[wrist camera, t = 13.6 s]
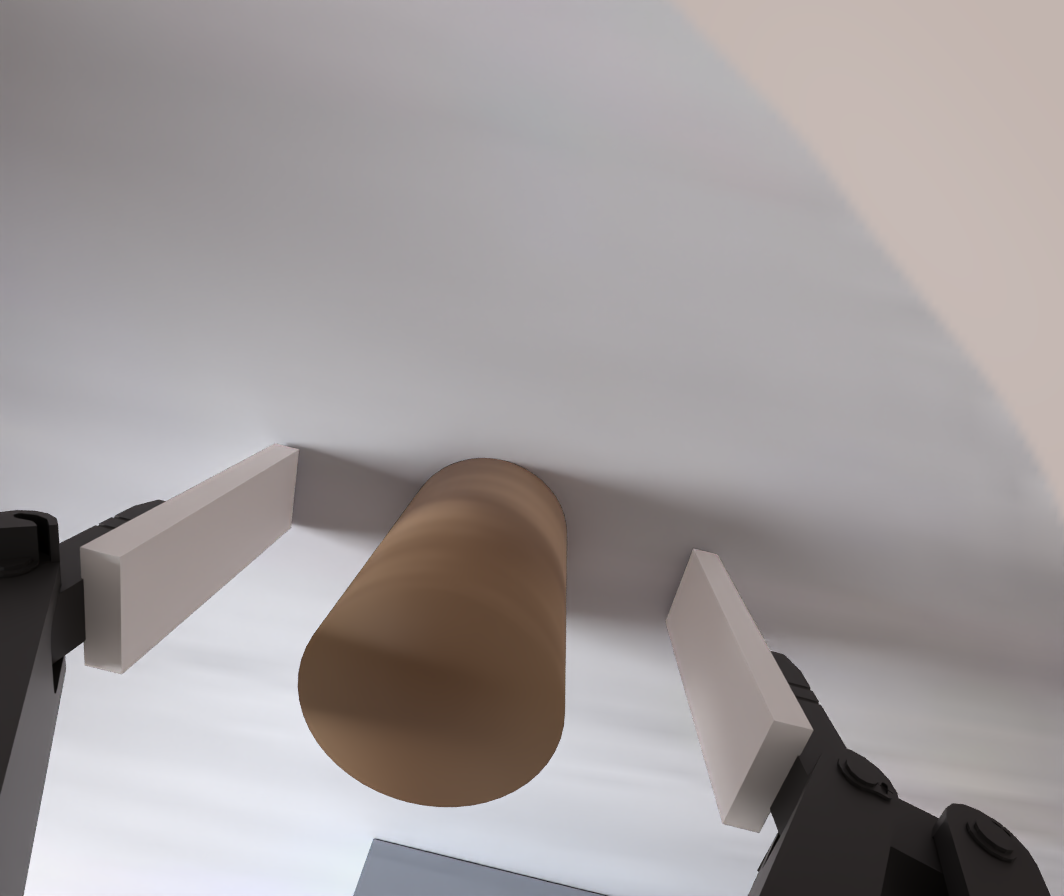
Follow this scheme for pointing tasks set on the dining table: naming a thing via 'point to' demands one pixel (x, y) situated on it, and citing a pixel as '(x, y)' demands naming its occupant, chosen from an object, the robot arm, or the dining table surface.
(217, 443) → the dining table surface
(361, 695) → the walnut cylinder
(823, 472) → the dining table surface
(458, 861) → the tote
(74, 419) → the dining table surface
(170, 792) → the dining table surface
